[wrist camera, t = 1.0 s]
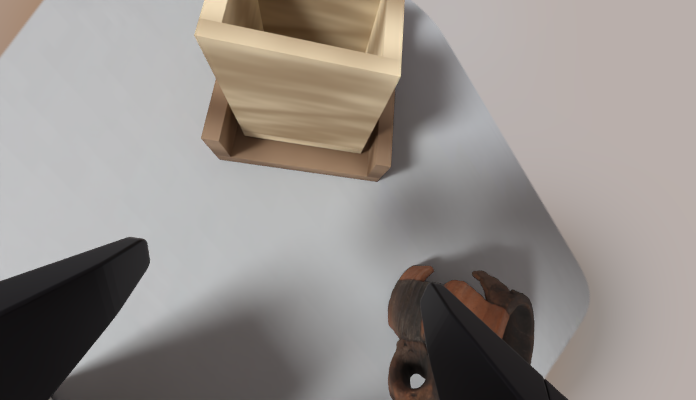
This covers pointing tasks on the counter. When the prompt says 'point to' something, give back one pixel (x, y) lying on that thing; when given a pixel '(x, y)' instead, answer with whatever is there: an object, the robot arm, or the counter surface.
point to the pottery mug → (496, 311)
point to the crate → (305, 66)
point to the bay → (297, 146)
